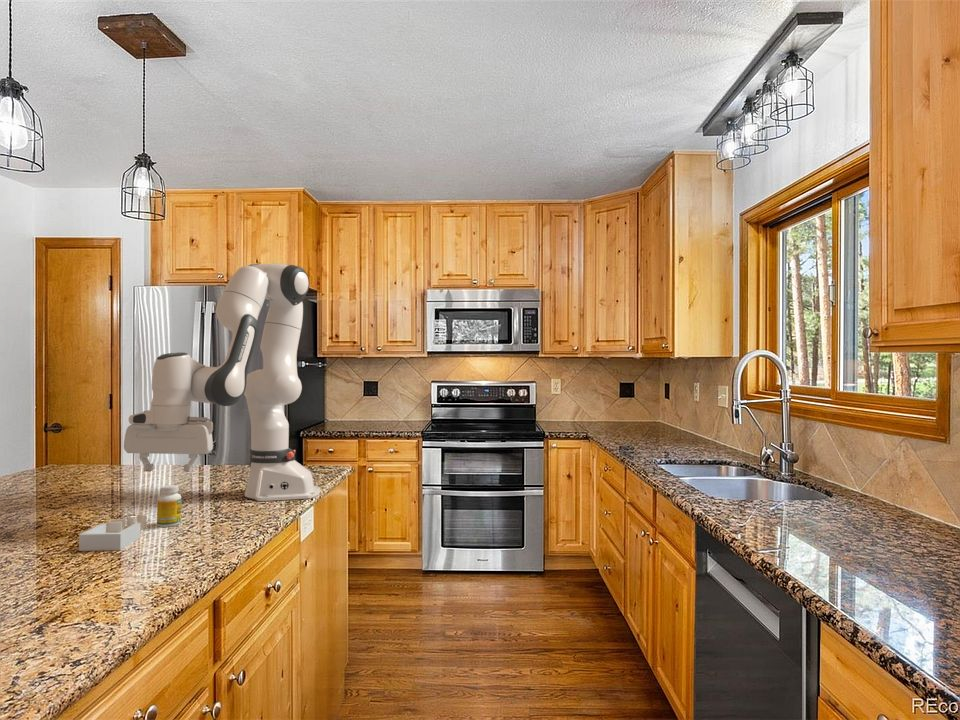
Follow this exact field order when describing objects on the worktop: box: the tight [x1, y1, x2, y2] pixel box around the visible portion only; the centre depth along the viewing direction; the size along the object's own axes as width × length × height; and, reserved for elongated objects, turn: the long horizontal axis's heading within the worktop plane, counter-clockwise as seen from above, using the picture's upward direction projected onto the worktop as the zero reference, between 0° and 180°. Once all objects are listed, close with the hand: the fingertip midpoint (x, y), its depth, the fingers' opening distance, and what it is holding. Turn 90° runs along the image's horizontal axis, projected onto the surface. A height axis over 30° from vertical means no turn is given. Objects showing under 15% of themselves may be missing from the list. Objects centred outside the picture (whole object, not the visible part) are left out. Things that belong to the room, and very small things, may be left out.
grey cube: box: [106, 518, 126, 533], centre depth 133 cm, size 3×3×3 cm
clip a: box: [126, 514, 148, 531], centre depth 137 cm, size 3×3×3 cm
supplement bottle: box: [156, 484, 182, 528], centre depth 141 cm, size 5×5×10 cm
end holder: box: [78, 522, 141, 552], centre depth 126 cm, size 8×8×4 cm
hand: (168, 471), depth 141 cm, fingers open, 8 cm apart
